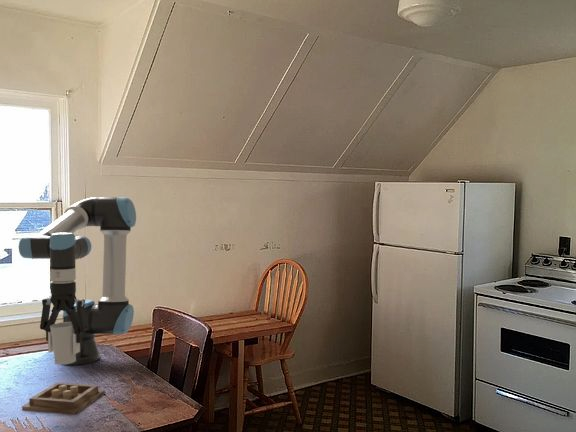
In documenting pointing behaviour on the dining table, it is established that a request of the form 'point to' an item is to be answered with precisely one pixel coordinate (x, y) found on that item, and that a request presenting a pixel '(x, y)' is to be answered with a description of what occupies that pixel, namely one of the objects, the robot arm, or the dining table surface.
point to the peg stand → (64, 398)
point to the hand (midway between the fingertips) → (64, 351)
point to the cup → (63, 342)
